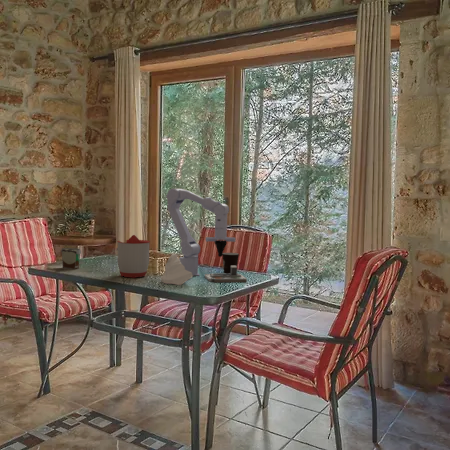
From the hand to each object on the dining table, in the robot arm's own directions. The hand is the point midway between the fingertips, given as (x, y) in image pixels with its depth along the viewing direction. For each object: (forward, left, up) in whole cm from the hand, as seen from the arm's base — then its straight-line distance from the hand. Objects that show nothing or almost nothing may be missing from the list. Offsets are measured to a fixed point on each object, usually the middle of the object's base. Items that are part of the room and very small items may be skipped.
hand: (220, 256), depth 246 cm
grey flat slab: (+2, -4, -10) cm, 11 cm away
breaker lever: (+6, -4, -9) cm, 12 cm away
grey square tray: (+2, -4, -10) cm, 11 cm away
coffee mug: (+9, +15, -11) cm, 20 cm away
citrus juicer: (-42, +7, -11) cm, 44 cm away
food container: (-71, +33, -11) cm, 79 cm away
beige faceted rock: (-23, -12, -11) cm, 28 cm away
